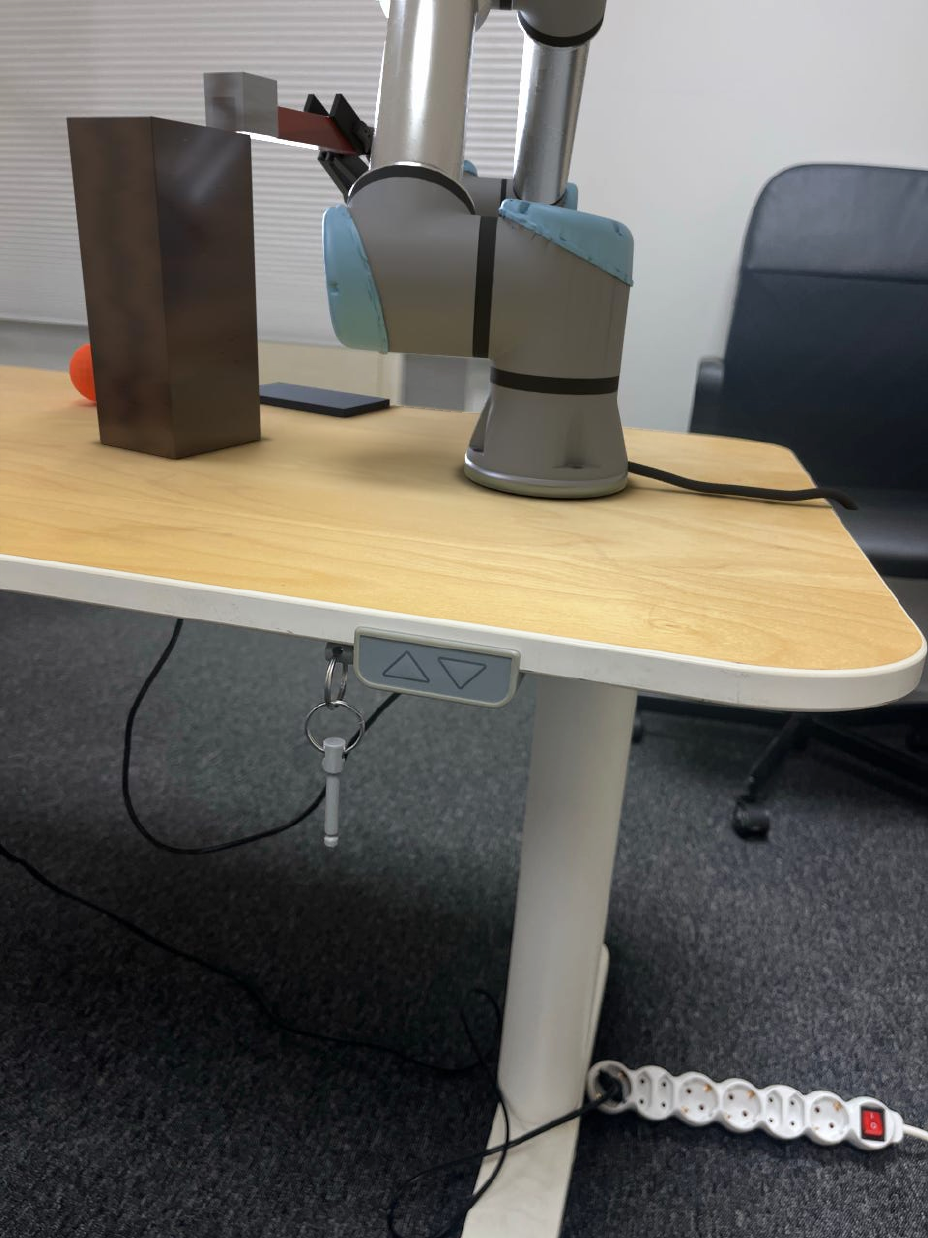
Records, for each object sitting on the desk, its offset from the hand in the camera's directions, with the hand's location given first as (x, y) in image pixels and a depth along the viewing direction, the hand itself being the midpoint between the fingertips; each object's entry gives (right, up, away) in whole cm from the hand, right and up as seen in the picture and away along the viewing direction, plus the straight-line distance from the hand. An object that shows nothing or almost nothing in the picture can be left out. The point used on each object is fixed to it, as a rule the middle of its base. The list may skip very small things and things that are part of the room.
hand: (321, 105), depth 97 cm
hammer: (-2, -5, -1) cm, 5 cm away
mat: (-4, -28, +17) cm, 33 cm away
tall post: (-13, -38, -8) cm, 41 cm away
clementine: (-27, -31, +9) cm, 42 cm away
